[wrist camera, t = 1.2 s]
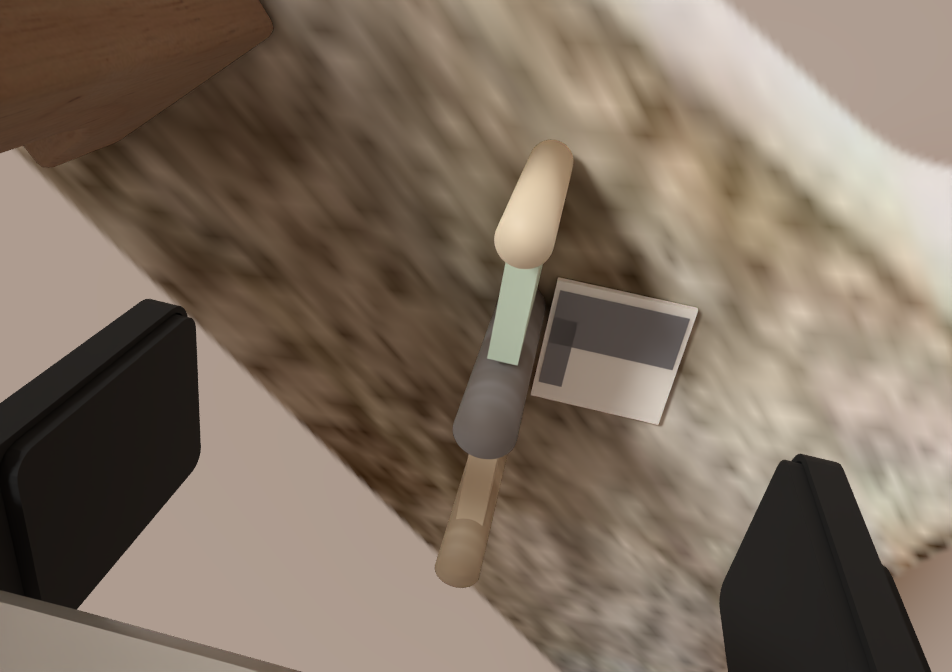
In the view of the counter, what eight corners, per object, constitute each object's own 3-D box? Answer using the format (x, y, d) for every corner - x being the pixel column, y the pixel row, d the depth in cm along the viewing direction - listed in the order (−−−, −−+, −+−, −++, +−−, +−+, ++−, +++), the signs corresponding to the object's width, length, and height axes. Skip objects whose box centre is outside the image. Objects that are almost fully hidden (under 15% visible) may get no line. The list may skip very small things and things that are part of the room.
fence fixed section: (514, 445, 33) (480, 598, 26) (471, 435, 34) (425, 584, 26) (550, 289, 29) (522, 414, 22) (502, 278, 30) (457, 399, 22)
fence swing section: (545, 287, 29) (519, 398, 22) (505, 278, 29) (467, 386, 22) (578, 144, 26) (560, 219, 19) (533, 135, 26) (499, 206, 19)
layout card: (658, 420, 31) (658, 425, 31) (531, 391, 32) (530, 395, 32) (697, 307, 29) (698, 311, 28) (558, 277, 29) (557, 280, 29)
